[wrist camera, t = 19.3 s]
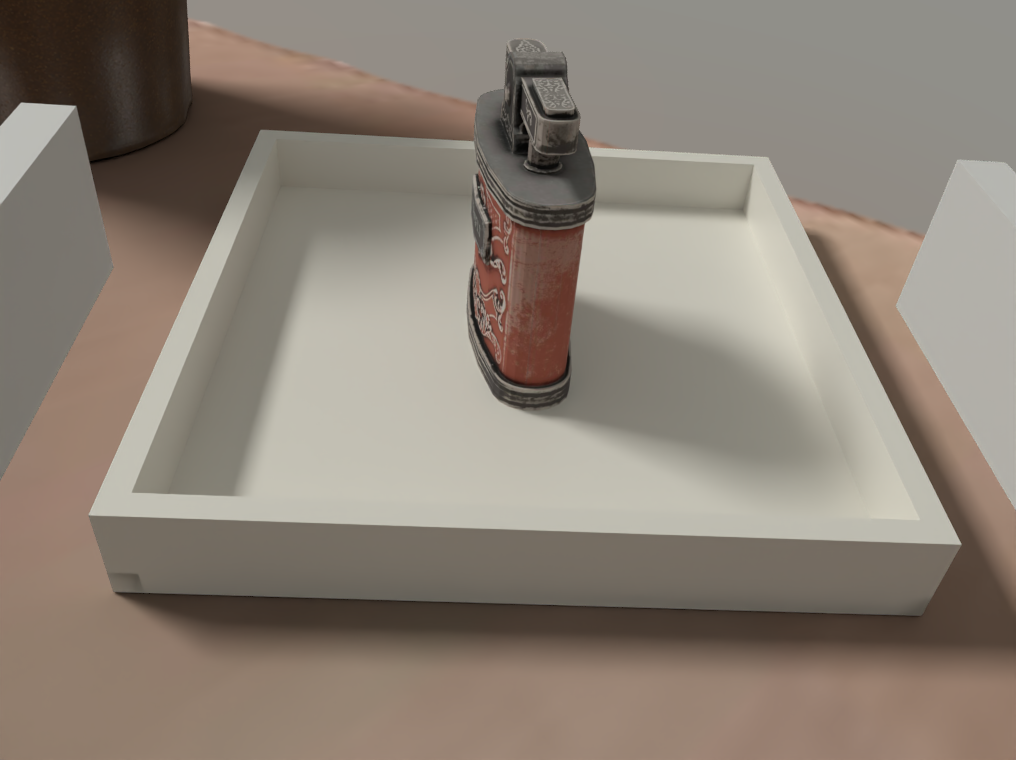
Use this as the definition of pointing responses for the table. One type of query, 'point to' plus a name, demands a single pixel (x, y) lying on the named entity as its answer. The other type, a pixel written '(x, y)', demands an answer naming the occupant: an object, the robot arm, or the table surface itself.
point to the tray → (509, 431)
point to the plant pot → (99, 66)
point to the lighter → (528, 228)
